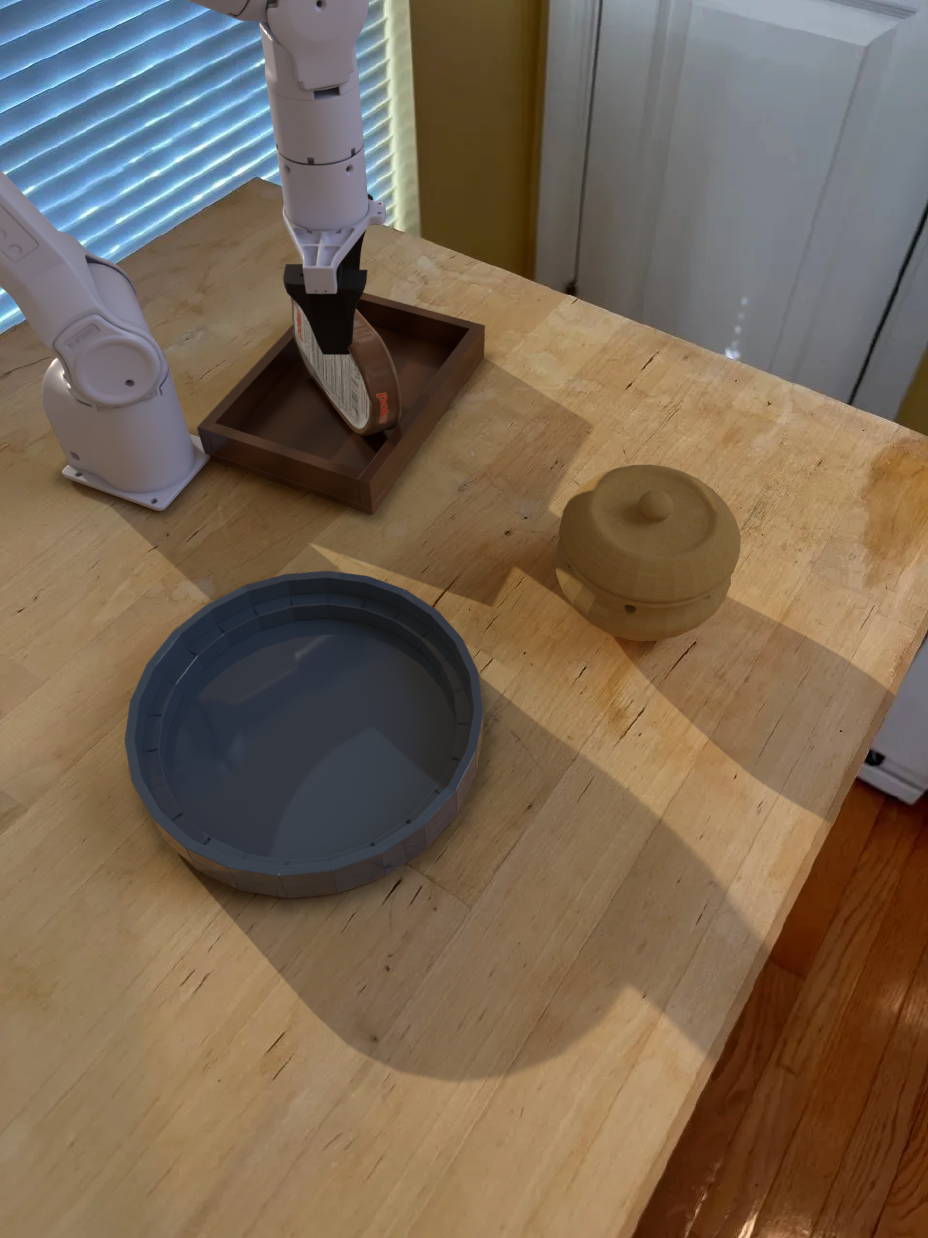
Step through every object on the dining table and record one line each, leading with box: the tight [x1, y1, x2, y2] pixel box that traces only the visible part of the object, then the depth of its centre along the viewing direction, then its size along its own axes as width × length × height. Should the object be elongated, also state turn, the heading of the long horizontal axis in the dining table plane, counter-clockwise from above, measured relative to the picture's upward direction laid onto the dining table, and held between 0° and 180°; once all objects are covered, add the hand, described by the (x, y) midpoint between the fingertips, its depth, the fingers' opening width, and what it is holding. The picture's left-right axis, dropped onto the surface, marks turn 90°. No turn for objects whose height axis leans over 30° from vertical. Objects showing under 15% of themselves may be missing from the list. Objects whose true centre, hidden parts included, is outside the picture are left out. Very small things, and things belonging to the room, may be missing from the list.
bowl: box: [124, 570, 484, 899], centre depth 58 cm, size 21×21×4 cm
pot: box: [554, 464, 742, 642], centre depth 62 cm, size 12×12×10 cm
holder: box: [196, 292, 486, 515], centre depth 77 cm, size 15×21×3 cm
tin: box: [290, 296, 402, 436], centre depth 74 cm, size 15×3×8 cm, turn 31°
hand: (339, 322), depth 72 cm, fingers closed on tin, 7 cm apart
